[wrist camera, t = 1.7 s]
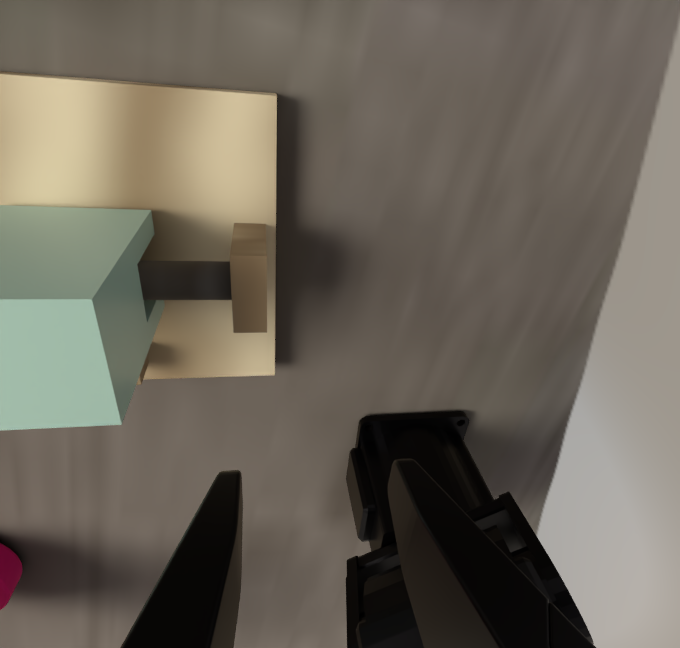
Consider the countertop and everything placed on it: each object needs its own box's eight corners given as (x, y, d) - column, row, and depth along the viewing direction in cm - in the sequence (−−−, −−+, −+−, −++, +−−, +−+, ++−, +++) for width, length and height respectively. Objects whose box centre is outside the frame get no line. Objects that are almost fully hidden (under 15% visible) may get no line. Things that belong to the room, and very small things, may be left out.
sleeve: (151, 210, 16) (91, 299, 10) (164, 305, 18) (121, 424, 12) (-4, 204, 15) (-162, 299, 9) (29, 306, 17) (-84, 434, 11)
